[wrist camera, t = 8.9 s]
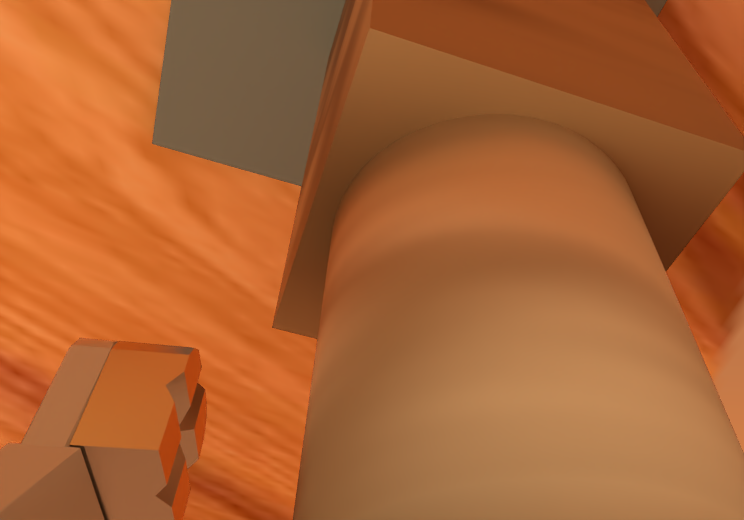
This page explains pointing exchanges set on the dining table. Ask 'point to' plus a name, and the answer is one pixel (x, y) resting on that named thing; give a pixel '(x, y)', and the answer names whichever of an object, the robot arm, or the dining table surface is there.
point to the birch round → (506, 344)
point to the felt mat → (248, 81)
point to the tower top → (514, 110)
